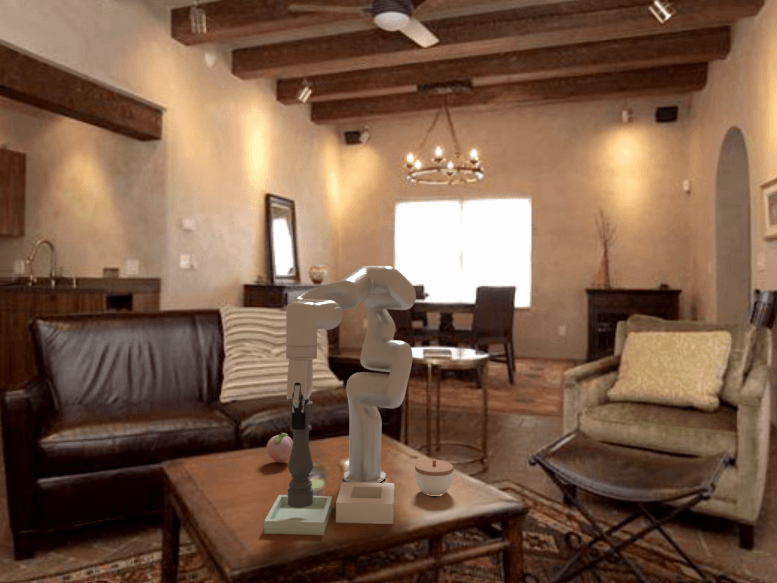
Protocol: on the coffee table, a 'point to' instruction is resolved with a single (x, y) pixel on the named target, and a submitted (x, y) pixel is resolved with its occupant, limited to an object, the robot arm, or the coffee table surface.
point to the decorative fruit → (280, 447)
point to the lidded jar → (434, 476)
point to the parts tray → (298, 517)
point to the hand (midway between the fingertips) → (300, 424)
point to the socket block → (365, 503)
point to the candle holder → (301, 463)
